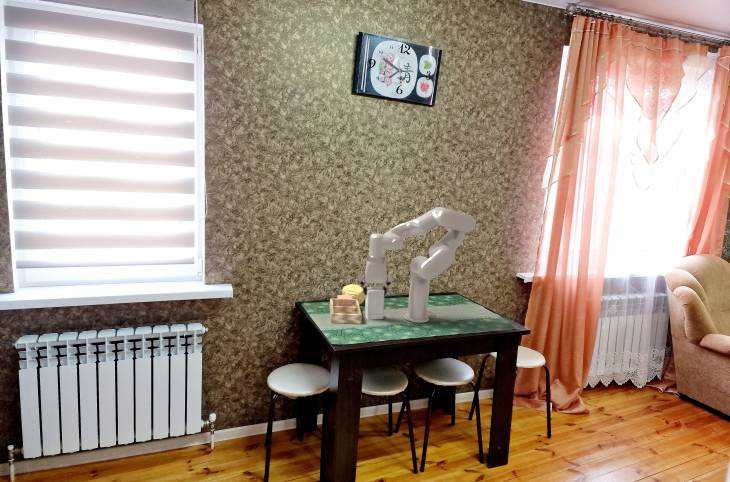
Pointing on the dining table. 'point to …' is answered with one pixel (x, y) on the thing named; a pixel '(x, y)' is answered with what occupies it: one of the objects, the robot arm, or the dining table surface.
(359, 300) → the sculpture
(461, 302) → the dining table surface
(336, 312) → the crate
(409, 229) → the robot arm
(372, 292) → the skincare box
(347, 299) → the peach cube
